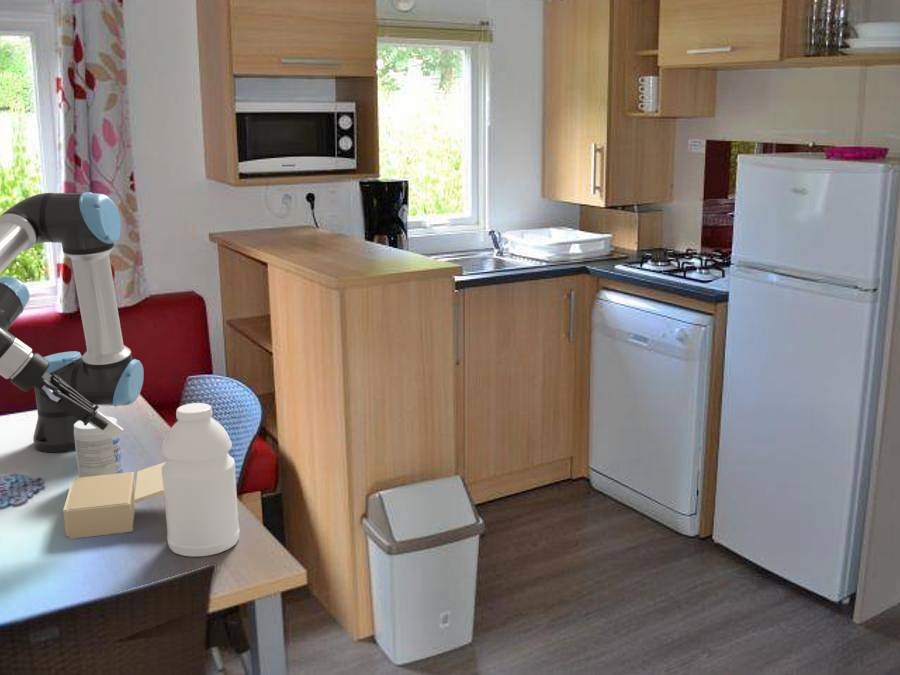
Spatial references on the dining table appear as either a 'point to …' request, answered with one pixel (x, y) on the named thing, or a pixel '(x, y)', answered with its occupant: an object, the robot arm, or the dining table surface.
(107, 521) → the carton
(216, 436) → the bottle
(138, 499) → the flap
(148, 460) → the dining table surface
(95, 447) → the supplement tub
